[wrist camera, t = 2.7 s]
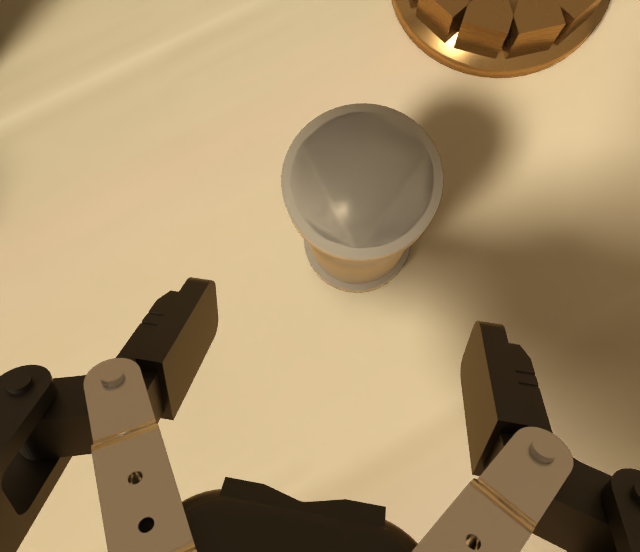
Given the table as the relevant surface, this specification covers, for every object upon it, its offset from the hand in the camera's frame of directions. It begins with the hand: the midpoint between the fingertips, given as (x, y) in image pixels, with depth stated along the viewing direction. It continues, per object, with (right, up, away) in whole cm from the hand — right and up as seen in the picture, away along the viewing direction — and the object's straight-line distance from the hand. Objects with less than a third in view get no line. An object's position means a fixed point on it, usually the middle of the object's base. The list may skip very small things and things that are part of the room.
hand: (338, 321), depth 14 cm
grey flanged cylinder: (+1, +3, +10) cm, 11 cm away
